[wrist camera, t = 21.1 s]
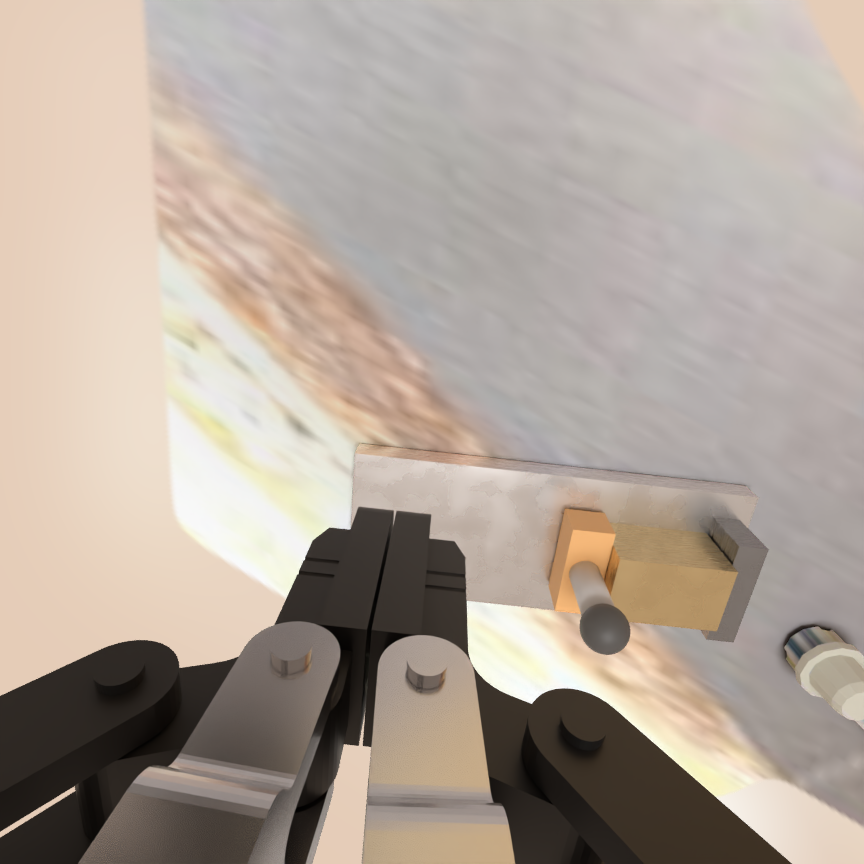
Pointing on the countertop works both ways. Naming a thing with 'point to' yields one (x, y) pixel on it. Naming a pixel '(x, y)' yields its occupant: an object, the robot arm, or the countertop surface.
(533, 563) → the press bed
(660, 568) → the block
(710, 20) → the countertop surface
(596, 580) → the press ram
